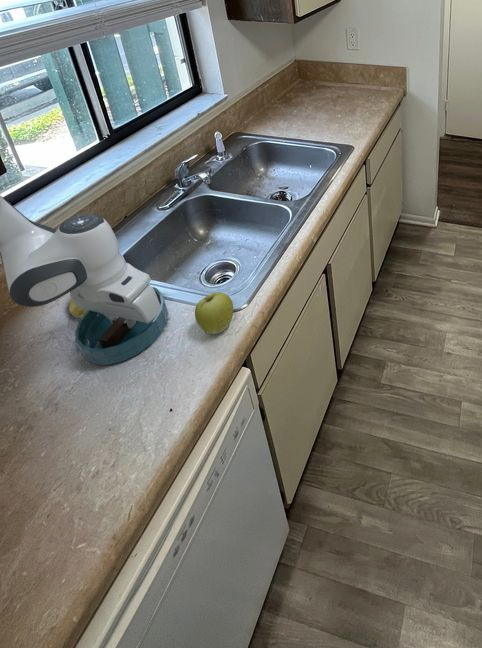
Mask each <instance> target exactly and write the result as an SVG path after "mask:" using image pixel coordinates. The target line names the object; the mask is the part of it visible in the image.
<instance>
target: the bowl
mask: <svg viewBox="0 0 482 648" xmlns="http://www.w3.org/2000/svg"><path fill="white" fill-rule="evenodd" d="M151 287H152V288H153V289H154V291H155V293H156V295H157V298H158V301H159V304H160V311H159V312H158V314H157V315H156V316H155V317H154V318H153V319H152V320H151V321H150V322H149V323H144V322H138V323H137V324H136V325H135V326H134V327H133V328H132V329H131V331H130V332H129V333H128V334H127V335H126V336H125V337H124V338H123V340H122V341H121V342H120V343H119V344H118V345H117V346H113V347H109V348H105V349H103V348H102V346H101V344H100V342H99V340H98V339H99V338H100V337H101V336H102V335H103V333H104V332H105V331H106V330H107V329H108V328H109V327H110V326H111V325H112V323H111V321H110V320H109V319H108V318H107V317H106V316H105V315H103V313H99V312H95V311H90V310H88V311H87V312H86V313H85V315H84V316H83V317H82V318H81V319H80V320H79V321H78V323H77V327H76V329H75V332H74V336H75V337H74V338H75V343H76V345H77V346H78V349H79V350H80V353H81V354H82V356H83V357H84V358H85V360H86V361H87V362H89V363H92V364H94V365H96V366H97V365H98V366H99V365H101V366H102V365H106V366H107V365H113V364H117V363H121V362H125V361H127V360H128V359H131V358H132V357H135V356H137V355H138V354H140V353H142V352H143V351H144V350H145V349H147V348H148V347H149V346H151V345H152V344H153V343H154V341H155V340H157V338H158V337H160V335H161V334H162V332H163V330H164V329H165V328H166V326H167V322H168V318H169V309H168V307H167V304H166V301H165V298H164V296H163V293H162V292H161V291H160V290H159V289H158V288H157V287H155V286H151Z"/></svg>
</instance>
